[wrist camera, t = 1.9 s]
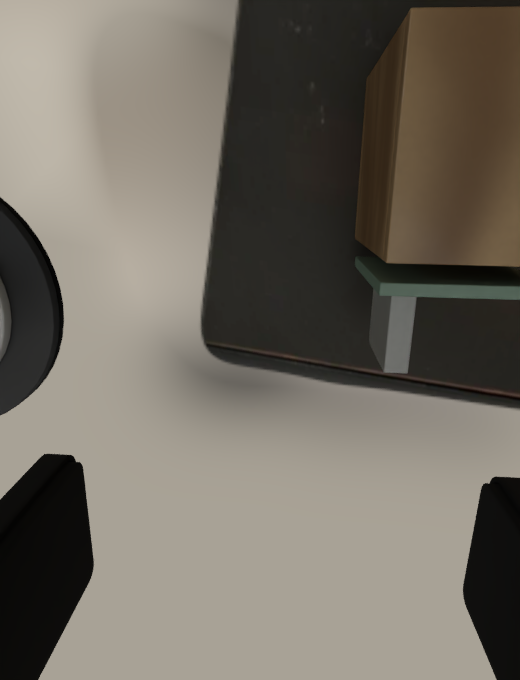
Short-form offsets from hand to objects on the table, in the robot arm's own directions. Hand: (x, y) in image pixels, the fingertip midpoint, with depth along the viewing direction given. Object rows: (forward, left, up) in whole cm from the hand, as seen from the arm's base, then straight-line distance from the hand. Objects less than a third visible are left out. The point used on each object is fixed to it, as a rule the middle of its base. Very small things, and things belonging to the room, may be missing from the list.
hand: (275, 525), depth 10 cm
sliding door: (+8, +1, -21) cm, 22 cm away
